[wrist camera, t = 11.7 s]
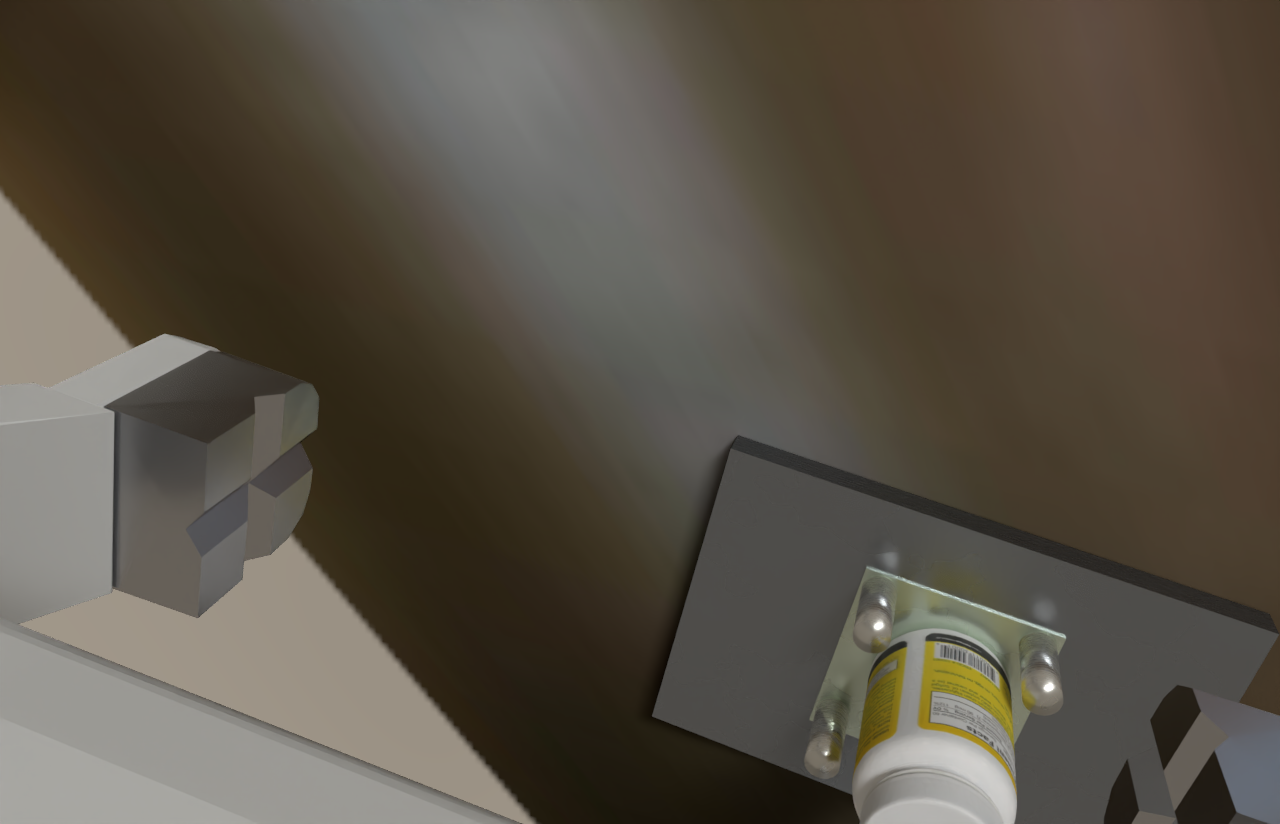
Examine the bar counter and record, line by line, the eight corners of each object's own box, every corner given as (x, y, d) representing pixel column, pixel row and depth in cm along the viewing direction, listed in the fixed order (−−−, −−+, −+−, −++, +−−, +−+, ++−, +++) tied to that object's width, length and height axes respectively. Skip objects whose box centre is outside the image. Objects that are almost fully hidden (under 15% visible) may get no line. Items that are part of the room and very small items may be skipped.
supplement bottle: (891, 747, 38) (868, 930, 31) (852, 636, 37) (818, 798, 30) (1028, 730, 36) (1039, 921, 29) (991, 613, 35) (993, 779, 28)
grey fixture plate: (660, 698, 42) (628, 766, 38) (737, 435, 37) (710, 484, 33) (1117, 874, 39) (1131, 968, 35) (1269, 614, 34) (1305, 691, 30)
